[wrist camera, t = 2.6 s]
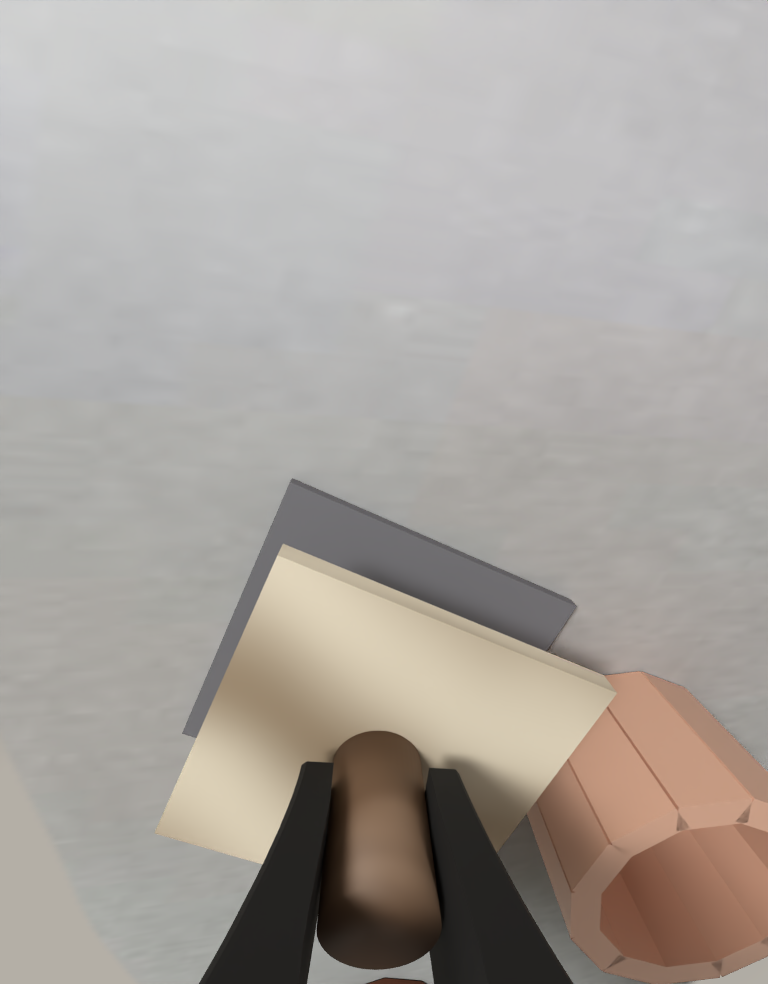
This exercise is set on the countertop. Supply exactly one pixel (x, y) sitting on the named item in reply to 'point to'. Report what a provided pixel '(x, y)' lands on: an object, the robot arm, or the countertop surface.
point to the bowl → (659, 839)
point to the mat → (389, 577)
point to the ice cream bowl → (395, 981)
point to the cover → (374, 743)
